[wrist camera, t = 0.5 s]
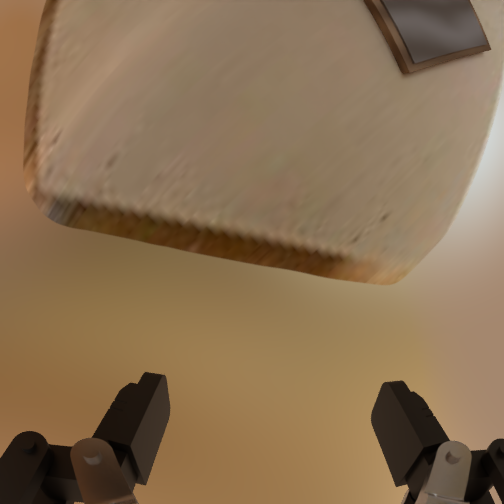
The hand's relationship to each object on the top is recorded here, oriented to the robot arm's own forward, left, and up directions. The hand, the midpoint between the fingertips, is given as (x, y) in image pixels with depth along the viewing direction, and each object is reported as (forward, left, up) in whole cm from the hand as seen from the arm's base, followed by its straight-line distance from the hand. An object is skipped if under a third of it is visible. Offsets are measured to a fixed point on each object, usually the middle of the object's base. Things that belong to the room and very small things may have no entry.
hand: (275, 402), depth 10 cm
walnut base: (-11, +29, -32) cm, 45 cm away
